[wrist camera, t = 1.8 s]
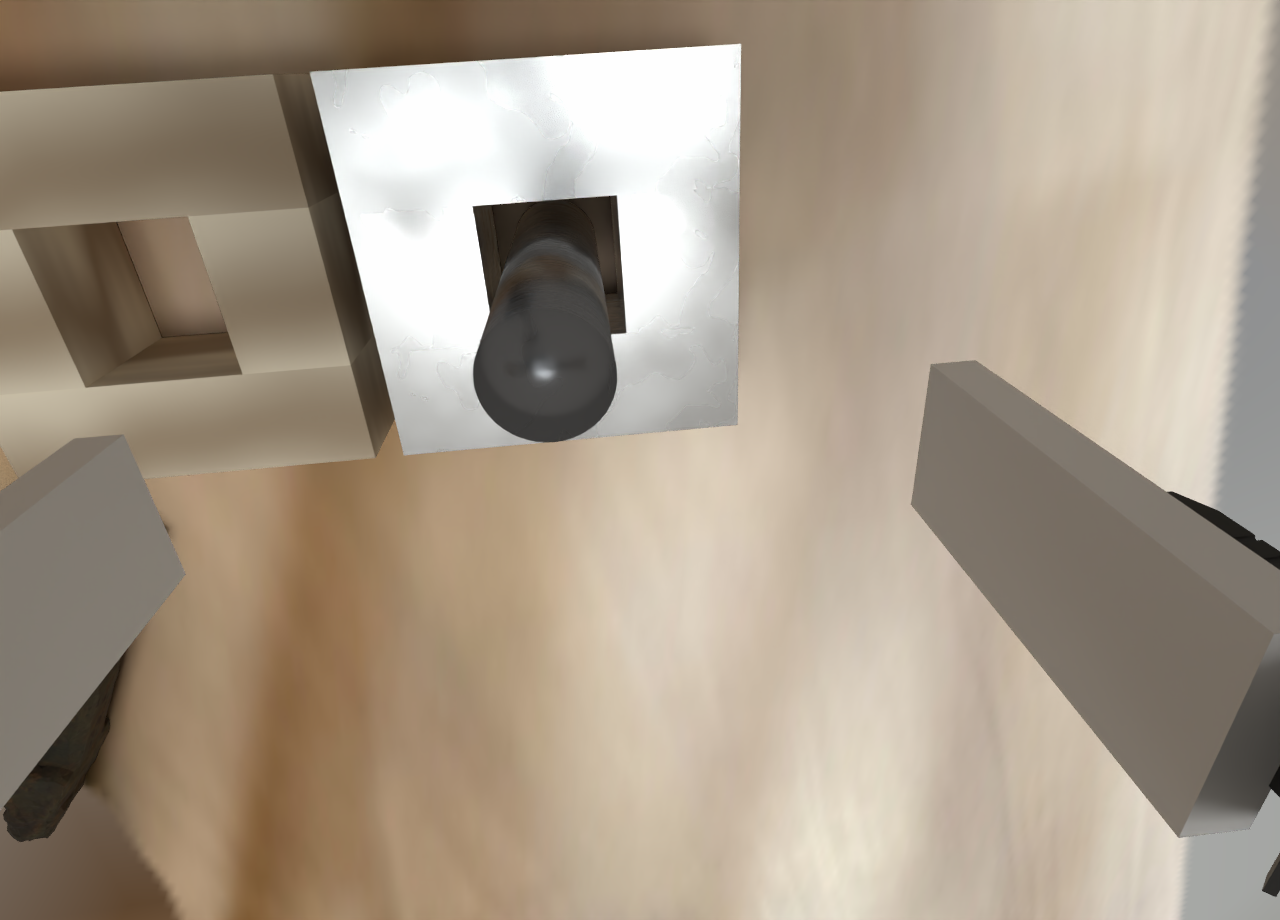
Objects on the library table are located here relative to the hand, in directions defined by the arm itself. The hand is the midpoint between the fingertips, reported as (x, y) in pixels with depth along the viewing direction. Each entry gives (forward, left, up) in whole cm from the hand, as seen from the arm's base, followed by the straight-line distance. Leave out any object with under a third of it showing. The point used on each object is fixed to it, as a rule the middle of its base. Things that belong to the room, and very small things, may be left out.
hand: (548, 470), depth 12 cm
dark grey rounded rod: (0, 0, -18) cm, 17 cm away
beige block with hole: (0, -13, -17) cm, 22 cm away
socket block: (0, 0, -17) cm, 17 cm away
